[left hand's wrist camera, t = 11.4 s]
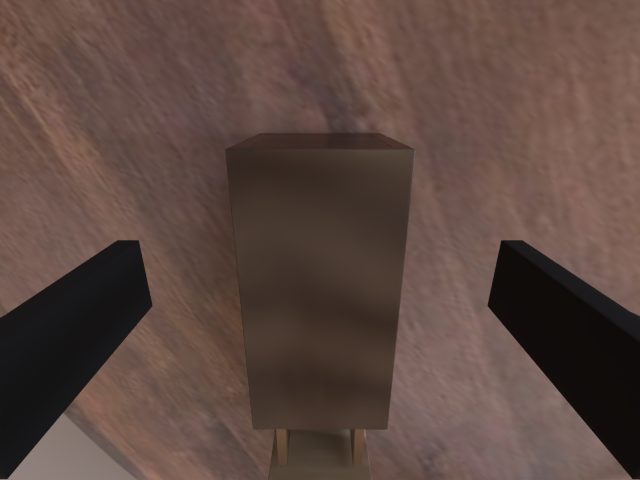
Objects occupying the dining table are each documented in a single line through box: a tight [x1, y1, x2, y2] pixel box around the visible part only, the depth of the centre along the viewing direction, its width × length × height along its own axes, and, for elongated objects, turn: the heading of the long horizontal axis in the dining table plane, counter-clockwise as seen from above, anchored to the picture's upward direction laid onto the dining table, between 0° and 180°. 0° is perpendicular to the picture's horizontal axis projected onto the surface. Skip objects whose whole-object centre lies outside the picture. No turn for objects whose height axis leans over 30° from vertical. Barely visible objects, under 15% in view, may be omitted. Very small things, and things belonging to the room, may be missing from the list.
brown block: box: [226, 134, 415, 429], centre depth 27 cm, size 21×10×11 cm, turn 0°
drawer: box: [268, 429, 372, 480], centre depth 32 cm, size 26×9×9 cm, turn 0°
